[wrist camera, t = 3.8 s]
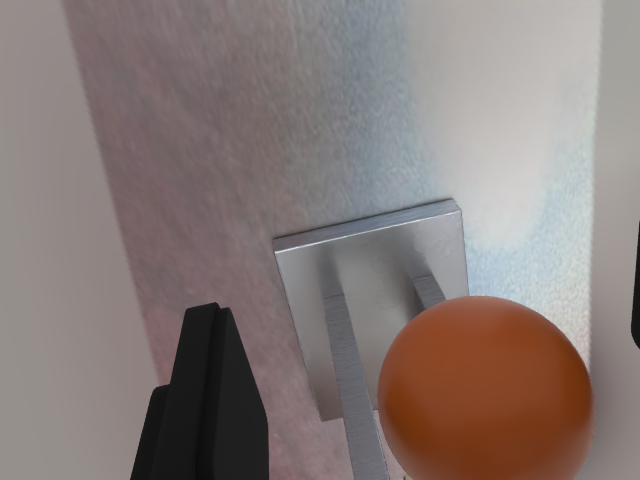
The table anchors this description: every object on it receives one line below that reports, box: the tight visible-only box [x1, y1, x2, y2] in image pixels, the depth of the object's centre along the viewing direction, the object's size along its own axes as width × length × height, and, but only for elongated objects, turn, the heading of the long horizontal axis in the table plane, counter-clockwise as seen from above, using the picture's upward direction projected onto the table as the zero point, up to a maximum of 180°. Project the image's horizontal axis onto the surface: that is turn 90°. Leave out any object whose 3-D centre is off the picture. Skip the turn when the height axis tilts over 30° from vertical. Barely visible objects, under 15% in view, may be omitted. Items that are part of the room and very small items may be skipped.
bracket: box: [273, 199, 469, 480], centre depth 21 cm, size 10×8×13 cm
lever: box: [377, 296, 596, 480], centre depth 12 cm, size 13×3×3 cm, turn 13°
